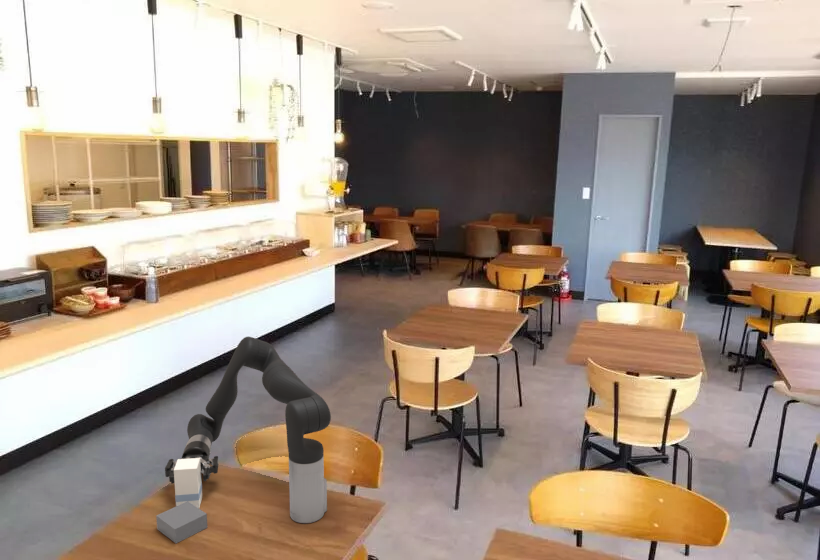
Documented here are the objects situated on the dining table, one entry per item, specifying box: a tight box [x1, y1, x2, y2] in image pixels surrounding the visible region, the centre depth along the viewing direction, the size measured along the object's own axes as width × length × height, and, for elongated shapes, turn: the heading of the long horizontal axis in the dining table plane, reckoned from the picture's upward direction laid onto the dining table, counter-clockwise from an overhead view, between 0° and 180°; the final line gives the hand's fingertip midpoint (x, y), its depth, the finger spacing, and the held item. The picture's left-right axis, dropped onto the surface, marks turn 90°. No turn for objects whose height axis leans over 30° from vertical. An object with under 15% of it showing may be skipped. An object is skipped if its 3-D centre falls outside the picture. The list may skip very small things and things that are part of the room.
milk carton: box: [174, 458, 203, 509], centre depth 175 cm, size 6×6×12 cm
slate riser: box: [155, 501, 208, 544], centre depth 165 cm, size 9×9×4 cm
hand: (188, 479), depth 175 cm, fingers open, 8 cm apart
